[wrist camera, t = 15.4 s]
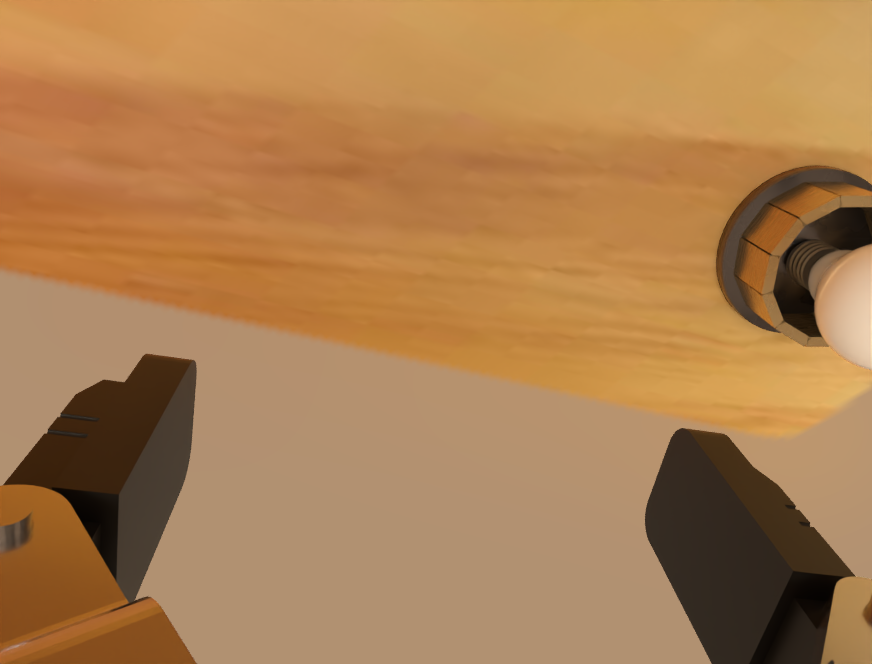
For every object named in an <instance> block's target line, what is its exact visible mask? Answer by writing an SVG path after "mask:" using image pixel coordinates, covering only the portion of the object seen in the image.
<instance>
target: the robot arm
mask: <svg viewBox="0 0 872 664" xmlns="http://www.w3.org/2000/svg"><path fill="white" fill-rule="evenodd" d="M195 387H196V362H195V361H194V360H189V359H181V358H174V357H167V356H159V355H152V354H145V355H144V356H143V357H142V358H141V360H140V361H139V363H138V364H137V366H136V367H135V368H134V370H133V371H132V373H131V374H130V376H129V377H128V379H127V380H126V381H125V382H117V381H110V380H102V381H100V382H99V383H97V384H95V385H93V386H91V387H89V388H87V389H85V390H83V391H81V392H79V393H78V394H76V395H75V396H74V398H73V399H72V400H71V401H70V403H69V404H68V405H67V406H66V407H65V409H64V410H63V411H62V413H61V416H60V417H57V419H56V420H55V421H54V423H53V424H52V425H51V426H50V428H49V429H48V432H47V434H44V435H43V436H42V438H41V439H40V440H39V441H38V442H37V444H36V445H35V446H34V447H33V449H32V450H31V451H30V452H29V454H28V455H27V456H26V457H25V458H24V460H23V461H22V462H21V463H20V465H19V466H18V467H17V468H16V470H15V471H14V472H13V474H12V475H11V476H10V477H9V478H8V480H7V481H6V482H5V483H4V485H3V486H0V664H197V663H196V662H195V660H194V658H193V657H192V655H191V654H190V652H189V650H188V649H187V647H186V646H185V644H184V643H183V641H182V639H181V638H180V636H179V635H178V633H177V631H176V630H175V628H174V626H173V625H172V623H171V622H170V620H169V619H168V617H167V615H166V614H165V612H164V611H163V609H162V608H161V606H160V605H159V604H158V603H157V602H156V601H155V600H154V599H153V598H151V597H144V598H141V599H138V600H135V598H136V595H137V593H138V591H139V589H140V586H141V584H142V581H143V579H144V576H145V574H146V572H147V570H148V567H149V565H150V562H151V560H152V557H153V555H154V553H155V550H156V548H157V546H158V543H159V541H160V539H161V536H162V534H163V531H164V529H165V527H166V524H167V522H168V520H169V517H170V515H171V512H172V510H173V508H174V505H175V503H176V501H177V498H178V496H179V493H180V491H181V489H182V486H183V483H184V480H185V477H186V473H187V469H188V464H189V459H190V452H191V443H192V429H193V415H194V401H195ZM795 507H796V506H795V504H794V503H793V502H792V501H791V500H790V499H789V497H788V496H787V495H786V494H785V493H784V492H783V490H782V489H781V488H780V487H779V486H778V485H777V484H776V483H774V482H773V481H772V480H770V479H769V478H768V477H766V476H765V475H764V474H762V473H761V472H759V471H758V470H757V469H755V468H754V467H753V466H752V465H751V464H750V462H749V461H748V460H747V459H746V458H745V457H744V455H743V454H742V453H741V452H740V450H739V449H738V448H737V447H736V446H735V444H734V443H733V442H732V441H731V440H730V438H729V437H728V436H727V435H725V434H721V433H714V432H706V431H699V430H692V429H684V428H681V429H679V430H677V431H676V432H675V434H673V436H672V438H671V440H670V442H669V445H668V448H667V450H666V453H665V456H664V459H663V461H662V465H661V467H660V470H659V472H658V475H657V478H656V481H655V484H654V486H653V489H652V492H651V495H650V497H649V500H648V503H647V507H646V514H645V526H646V533H647V537H648V540H649V542H650V544H651V546H652V548H653V550H654V552H655V554H656V555H657V557H658V559H659V561H660V563H661V565H662V567H663V569H664V571H665V573H666V575H667V577H668V579H669V581H670V583H671V585H672V587H673V589H674V591H675V593H676V595H677V597H678V598H679V600H680V602H681V604H682V606H683V608H684V610H685V612H686V614H687V616H688V618H689V620H690V622H691V624H692V626H693V628H694V630H695V632H696V634H697V636H698V638H699V639H700V641H701V643H702V645H703V647H704V649H705V651H706V653H707V655H708V657H709V659H710V661H711V663H712V664H872V579H868V578H863V577H856V576H855V575H854V574H853V573H852V572H851V570H850V569H849V568H848V567H847V566H846V565H845V563H844V562H843V561H842V560H841V559H840V558H839V556H838V555H837V554H836V553H835V552H834V550H833V549H832V548H831V547H830V546H829V544H827V542H826V541H825V540H824V539H823V537H822V536H821V535H820V534H819V533H818V532H817V530H816V529H815V528H814V527H810V522H809V521H808V520H807V519H806V517H805V516H804V515H803V514H802V513H801V512H800V511H799V510H796V509H795ZM134 600H135V601H134Z"/></svg>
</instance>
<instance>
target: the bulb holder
mask: <svg viewBox="0 0 872 664" xmlns="http://www.w3.org/2000/svg"><path fill="white" fill-rule="evenodd" d="M812 239H817V240H821V241H824V242H825V243H827V244H829V245H831V246H833V247H835V248H837V249H839V250H855V249H857V248H860V247H862V246H866V245H869V244H872V185H871V184H869V183H868V182H867V181H866V180H864V179H862V178H860V177H859V176H857V175H854V174H851V173H849V172H846V171H843V170H840V169H836V168H832V167H826V166H808V167H802V168H796V169H793V170H790V171H787V172H784V173H781V174H779V175H777V176H775V177H773V178H771V179H770V180H768V181H766V182H765V183H763V184H762V185H760V186H759V187H758V188H756V189H755V190H754V191H752V192H751V193H750V194H749V195H748V196H747V197H746V198H745V199H744V200H743V201H742V203H741V204H740V205H739V206H738V207H737V209H736V210H735V211H734V213H733V214H732V216H731V217H730V219H729V221H728V223H727V225H726V227H725V229H724V231H723V234H722V237H721V239H720V243H719V247H718V252H717V275H718V281H719V284H720V287H721V290H722V292H723V294H724V296H725V298H726V299H727V301H728V302H729V304H730V305H731V306H732V307H733V308H734V309H735V310H736V311H737V312H738V313H739V314H740V315H742V316H743V317H744V318H745V319H747V320H748V321H749V322H751V323H752V324H754V325H756V326H758V327H760V328H762V329H766V330H769V331H773V332H778V333H783V334H784V335H786V336H788V337H789V338H791V339H793V340H794V341H796V342H798V343H799V344H801V345H803V346H805V347H828V346H829V345H828V344H827V343H826V341H825V340H824V339H823V337H822V335H821V333H820V331H819V329H818V326H817V323H816V319H815V313H814V301H815V300H814V299H813V297H812V296H811V294H810V291H809V290H807V289H806V288H804V287H803V286H801V285H799V284H798V283H796V282H795V281H794V280H792V279H791V278H790V277H789V275H788V273H787V270H786V263H787V259H788V257H789V255H790V253H791V251H792V250H793V249H794V248H795V247H796V246H797V245H799V244H800V243H802V242H804V241H807V240H812Z"/></svg>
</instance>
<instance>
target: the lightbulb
mask: <svg viewBox="0 0 872 664" xmlns="http://www.w3.org/2000/svg"><path fill="white" fill-rule="evenodd" d="M786 270H787V273H788V275H789V277H790V278H791V279H792V280H794V281H795V282H796V283H798V284H799V285H801V286H803V287H804V288H806V289H807V290H809V291H810V294H811V296H812V297H813V299H814V300H815V301H814V313H815V319H816V323H817V326H818V329H819V331H820V333H821V335H822V337H823V339H824V340H825V341H826V343H827V344H828V345H829V346H830V348H831V349H832V350H833V351H834V352H836V353H837V354H838V355H839V356H841V357H842V358H843V359H845V360H847V361H848V362H850V363H852V364H854V365H856V366H859V367H862V368H865V369H869V370H872V244H869V245H866V246H862V247H860V248H857V249H855V250H839V249H837V248H835V247H833V246H831V245H829V244H827V243H825V242H824V241H821V240H817V239H812V240H807V241H804V242H802V243H800V244H799V245H797V246H796V247H795V248H794V249H793V250H792V251H791V253H790V255H789V257H788V259H787V263H786Z"/></svg>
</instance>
